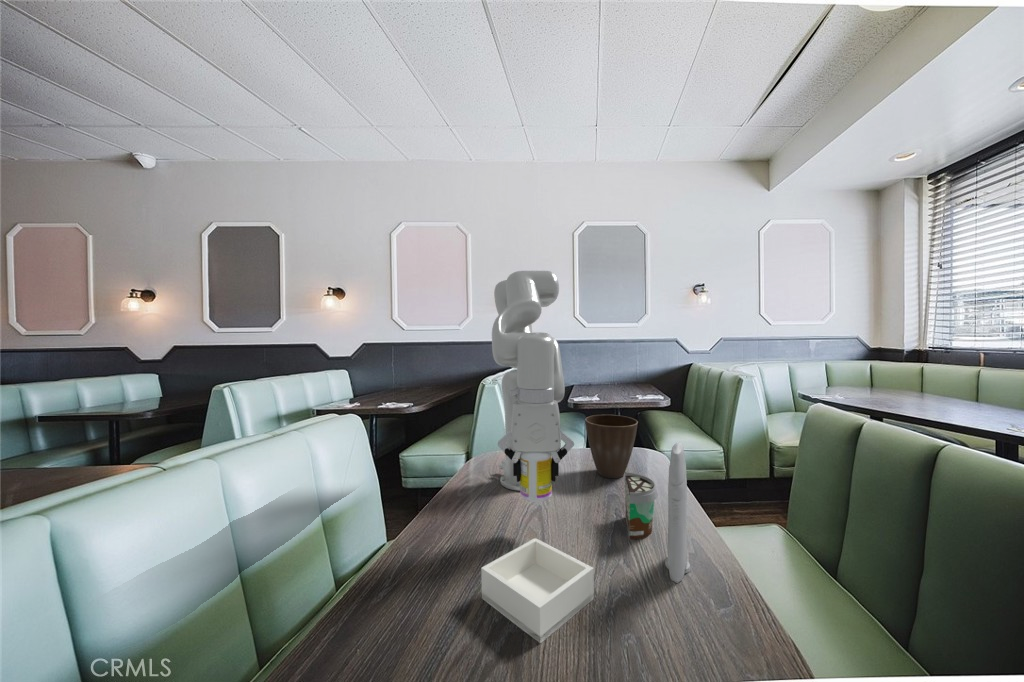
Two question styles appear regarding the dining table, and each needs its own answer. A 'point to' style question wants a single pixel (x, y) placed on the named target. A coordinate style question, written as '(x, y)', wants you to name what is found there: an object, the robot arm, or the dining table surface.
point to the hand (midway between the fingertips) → (535, 478)
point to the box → (537, 587)
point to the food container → (639, 504)
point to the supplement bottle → (536, 476)
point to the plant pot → (611, 443)
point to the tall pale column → (677, 516)
